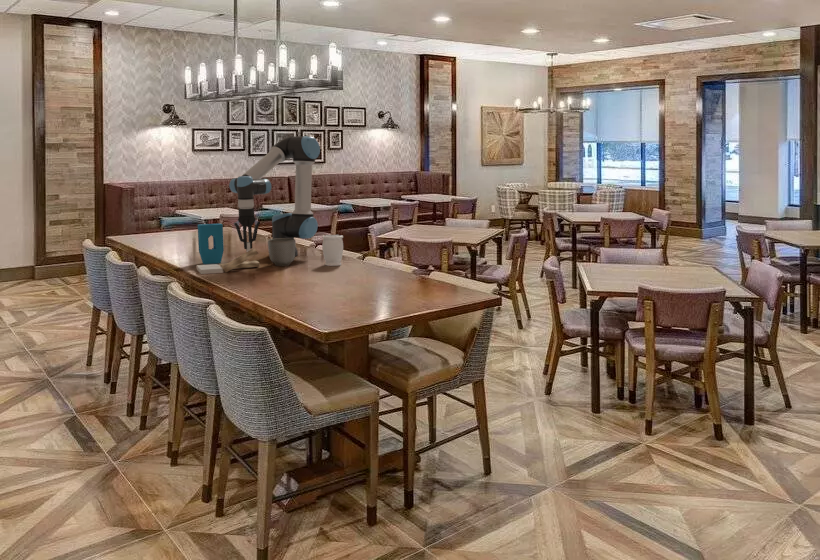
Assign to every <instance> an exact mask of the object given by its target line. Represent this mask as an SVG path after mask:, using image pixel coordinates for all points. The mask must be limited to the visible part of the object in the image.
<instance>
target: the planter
mask: <svg viewBox="0 0 820 560" xmlns="http://www.w3.org/2000/svg"><path fill="white" fill-rule="evenodd" d="M296 242H297V241H296V238H294V239H291V238H276V239H273V238H270V239H268V240H267V247H268V255H269V259H270V261H271V263H273V264H274V266H276V267H288V266H290V265H291V263H293V261H294V260H295V257H296V256H295V246H296V245H297V244H296ZM296 247H297V246H296Z"/></svg>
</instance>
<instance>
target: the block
mask: <svg viewBox="0 0 820 560" xmlns="http://www.w3.org/2000/svg"><path fill="white" fill-rule="evenodd" d="M210 237H212V242H213V244H212V245H213V246H212V248H210V247H209V239H210ZM197 241H198V242H197V243H198V253H199V256H200V258H201V259H200V260H201V262H202V265H211V264H218V265H220V264H222V259H223V255H224V251H225V250H224V249H225V248H224V246H225V245H224V224H222V223H205V224H204V223H202V224H201V223H200V224H197Z"/></svg>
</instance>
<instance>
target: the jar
mask: <svg viewBox="0 0 820 560" xmlns="http://www.w3.org/2000/svg"><path fill="white" fill-rule="evenodd" d="M343 238H344V235H340V234H324V235H322V239H323V240H322V245H321V248H322V250H321V251H322V254H323V258H324V259H323V260H324V261H325V263H324V266H326V267H329V266H330V267H338V266H342V262H341V261H342V259H343V253H344V241H343Z"/></svg>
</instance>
